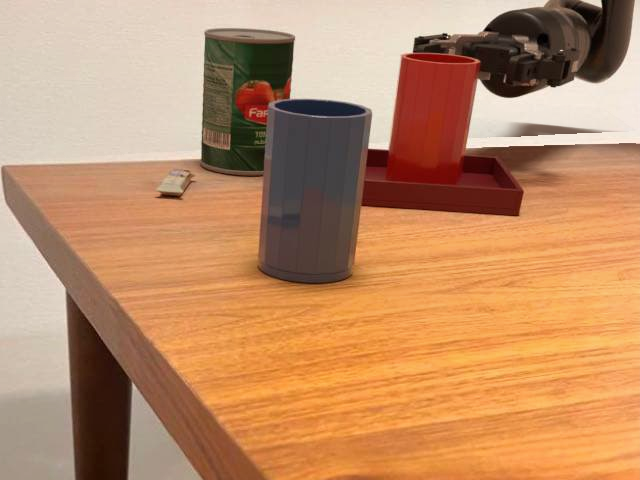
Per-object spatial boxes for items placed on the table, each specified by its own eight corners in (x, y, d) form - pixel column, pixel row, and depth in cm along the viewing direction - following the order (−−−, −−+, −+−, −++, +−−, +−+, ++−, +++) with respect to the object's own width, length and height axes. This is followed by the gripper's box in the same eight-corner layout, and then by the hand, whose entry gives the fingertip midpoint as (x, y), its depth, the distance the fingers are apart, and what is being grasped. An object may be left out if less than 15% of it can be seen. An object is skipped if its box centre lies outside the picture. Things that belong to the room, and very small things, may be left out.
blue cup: (351, 256, 68) (369, 102, 62) (354, 286, 62) (374, 120, 57) (260, 250, 68) (270, 96, 63) (255, 279, 63) (266, 113, 57)
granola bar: (181, 188, 78) (146, 182, 78) (180, 203, 79) (145, 197, 79) (205, 168, 83) (172, 163, 84) (204, 182, 84) (172, 177, 85)
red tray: (494, 179, 90) (498, 156, 89) (518, 215, 79) (524, 190, 78) (335, 169, 91) (337, 146, 89) (338, 203, 80) (340, 178, 79)
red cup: (453, 178, 87) (474, 55, 82) (462, 196, 82) (485, 65, 76) (382, 173, 88) (398, 51, 82) (386, 191, 82) (403, 60, 77)
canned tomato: (218, 153, 94) (224, 25, 88) (296, 163, 92) (307, 33, 86) (186, 169, 88) (190, 32, 82) (268, 180, 85) (278, 41, 79)
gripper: (466, 1, 96) (395, 8, 84) (611, 15, 89) (554, 25, 78) (453, 83, 100) (383, 101, 89) (590, 103, 94) (534, 125, 82)
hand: (463, 66), depth 83 cm, fingers open, 8 cm apart
